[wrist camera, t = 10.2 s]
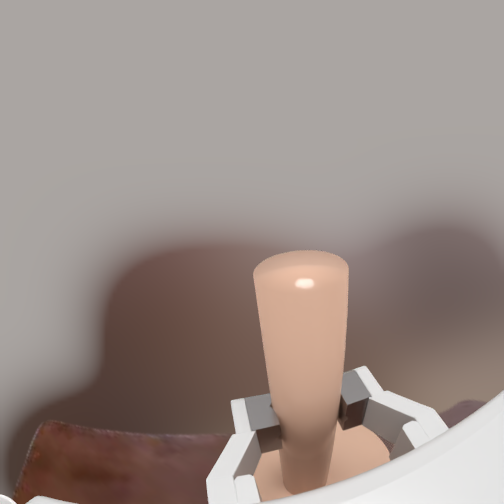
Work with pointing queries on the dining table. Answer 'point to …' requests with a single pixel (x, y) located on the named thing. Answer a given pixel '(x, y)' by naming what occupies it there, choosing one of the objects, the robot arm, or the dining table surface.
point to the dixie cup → (6, 500)
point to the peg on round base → (308, 375)
